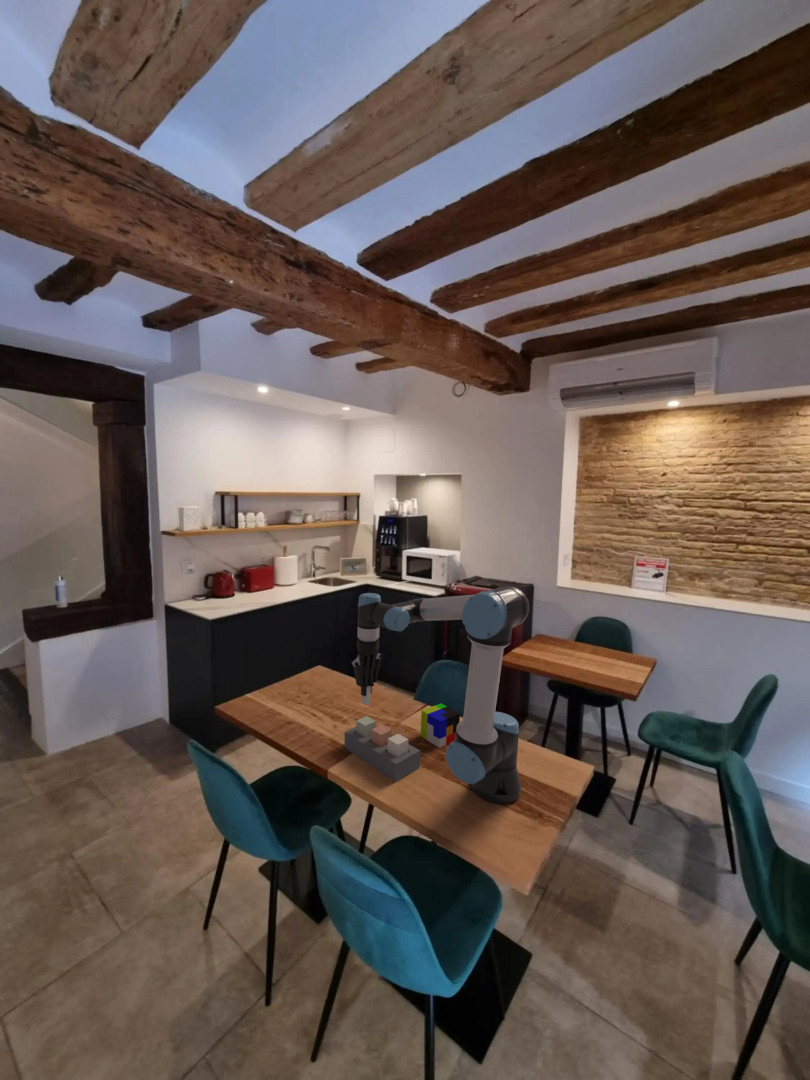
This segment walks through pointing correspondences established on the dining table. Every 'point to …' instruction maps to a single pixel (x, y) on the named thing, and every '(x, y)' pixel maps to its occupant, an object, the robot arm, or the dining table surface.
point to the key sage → (365, 726)
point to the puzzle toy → (439, 724)
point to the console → (382, 756)
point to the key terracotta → (380, 735)
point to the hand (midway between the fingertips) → (366, 703)
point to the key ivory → (397, 745)
